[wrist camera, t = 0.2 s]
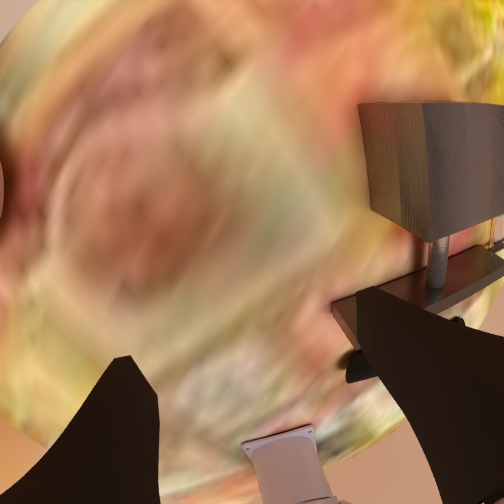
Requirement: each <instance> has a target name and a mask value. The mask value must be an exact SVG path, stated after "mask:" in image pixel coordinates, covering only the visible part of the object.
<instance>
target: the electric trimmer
mask: <svg viewBox="0 0 504 504" xmlns="http://www.w3.org/2000/svg"><path fill="white" fill-rule="evenodd" d="M454 322H456V323H459V324H461V325H464V326H465V322H464V320H463V318H458V317H455V319H454ZM373 377H377V374H376V373H375V371H374V370H373V368H372V367H371V365H370V364H369V362H368V360H367V358H366V357H365V355H364V353H363V351H362V352H359V353H356V354H354V355H352V356H351V357H350V359H349V363H348V367H347V370H346V382H347V383H353V382H358V381H362V380H365V379H369V378H373Z"/></svg>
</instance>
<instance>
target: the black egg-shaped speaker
mask: <svg viewBox="0 0 504 504" xmlns="http://www.w3.org/2000/svg"><path fill="white" fill-rule="evenodd" d="M3 201H4V177H3V170H2V165H1V161H0V218H1V213H2V208H3Z"/></svg>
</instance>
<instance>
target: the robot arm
mask: <svg viewBox="0 0 504 504" xmlns="http://www.w3.org/2000/svg"><path fill="white" fill-rule="evenodd" d="M356 311H357V341H358V343H359V345H360V347H361V349H362V351H363V353H364V355H365V357H366V358H367V360H368V362H369V364H370V365H371V367H372V368H373V370H374V371H375V373H376V374H377V376H378V377H379V378H380V380H381V381H382V383H383V384H384V386H385V387H386V388H387V390H388V391H389V393H390V394H391V396H392V397H393V398H394V400H395V401H396V403H397V404H398V406H399V407H400V408H401V410H402V411H403V413H404V415H405V416H406V418H407V420H408V421H409V423H410V425H411V427H412V429H413V431H414V433H415V435H416V437H417V439H418V441H419V443H420V445H421V447H422V449H423V451H424V454H425V456H426V458H427V461H428V463H429V465H430V468H431V471H432V473H433V476H434V478H435V481H436V484H437V487H438V490H439V493H440V496H441V499H442V502H443V504H482V503H483V502H484V504H504V337H503V336H498V335H494V334H490V333H487V332H483V331H480V330H477V329H473V328H470V327H467V326H464V325H461V324H459V323H456V322H454V321H451V320H448V319H446V318H443V317H441V316H438V315H436V314H434V313H431V312H429V311H427V310H424V309H422V308H420V307H418V306H416V305H414V304H411V303H409V302H407V301H405V300H403V299H401V298H399V297H396V296H394V295H392V294H390V293H388V292H386V291H383V290H381V289H379V288H376V287H374V286H371V287H369V288H366V289H363V290H360V291H358V292H356ZM159 428H160V421H159V408H158V397H157V394H156V393H155V391H154V390H153V389H152V387H151V386H150V384H149V383H148V381H147V380H146V378H145V377H144V375H143V374H142V372H141V371H140V369H139V368H138V366H137V365H136V363H135V362H134V360H133V358H132V357H131V355H129V356H124V357H119V358H114V359H113V361H112V362H111V363H110V365H109V366H108V367H107V369H106V370H105V372H104V373H103V374H102V376H101V377H100V379H99V380H98V382H97V383H96V385H95V386H94V388H93V389H92V391H91V392H90V394H89V395H88V397H87V398H86V400H85V401H84V403H83V404H82V406H81V407H80V409H79V410H78V412H77V413H76V414H75V416H74V417H73V419H72V420H71V421H70V423H69V424H68V426H67V427H66V429H65V430H64V431H63V433H62V434H61V435H60V437H59V438H58V439H57V440H56V442H55V443H54V444H53V445H52V446H51V448H50V449H49V450H48V451H47V453H46V454H45V455H44V456H43V457H42V458H41V459H40V460H39V461H38V462H37V463H36V464H35V465H34V466H33V467H32V468H31V469H30V470H29V471H28V472H27V473H26V474H25V475H24V476H23V477H22V478H21V479H20V480H19V481H17V482H16V483H15V484H14V485H13V486H12V487H10V488H9V489H8V490H6V491H5V492H4V493H2V494H1V495H0V504H160V496H159V485H158V460H159ZM242 448H243V450H244V452H245V453H246V455H247V456H248V458H249V459H250V461H251V463H252V464H253V466H254V467H255V471H256V476H257V480H258V484H259V489H260V493H261V497H262V501H263V504H351V503H350V502H347V501H345V500H341V501H338V499H337V497H336V496H334V497H333V494H332V492H331V489H330V487H329V484H328V481H327V479H326V476H325V474H324V471H323V468H322V466H321V463H320V461H319V458H318V455H317V447H316V440H315V432H314V427H313V425H308V426H305V427H302V428H298V429H295V430H292V431H288V432H285V433H282V434H278V435H274V436H271V437H267V438H263V439H259V440H255V441H251V442H247V443H243V444H242Z"/></svg>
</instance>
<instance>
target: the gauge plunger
mask: <svg viewBox="0 0 504 504" xmlns="http://www.w3.org/2000/svg"><path fill="white" fill-rule="evenodd" d="M449 238H450V235H449V236H446V237H444V238H441V239H438V240H436V241H433V242H430V243H429V247H428V262H427V268H426V269H424V270H421V271H419V272H416V273H414V274H412V275H409V276H407V277H404V278H401V279H399V280H396V281H394V282H391V283H389V284H386V285H383V286H381V287H378V288H379V289H381V290H383V291H386V292H388V293H390V294H392V295H394V296H396V297H399V298H401V299H403V300H405V301H407V302H409V303H411V304H414V305H416V306H418V307H420V308H422V309H424V310H427V311H429V312H431V313H434V314H438V313H440V312H442V311H444V310H446V309H448V308H450V307H452V306H453V305H455V304H457V303H459V302H461V301H463V300H464V299H466V298H468V297H470V296H471V295H473V294H475V293H477V292H478V291H480V290H482V289H483V288H485V287H487V286H488V285H490V284H491V283H493V282H495V281H496V280H498V279H499V278H501V277H503V276H504V259H502V258H501V257H499V256H497V255H496V254H494V253H496V252H498V251H500V250H502V249H504V243H503V242H500V243H498V244H496V245H494V246H492V247H490V248H489V249H486V248H484V247H482V246H481V245H478V246H476V247H474V248H472V249H470V250H468V251H465V252H463V253H461V254H459V255H457V256H454V257H452V258H450V259H448V250H449ZM332 307H333V317H334V318H335V320H336V321H337V323H338V324H339V326H340V327H341V329H342V330H343V332H344V333H345V335H346V336H347V338H348V339H349V341H350V342H351V344H352V345H353V347H354V348H355V350H359V349H361V347H360V345H359V343H358V341H357V311H356V296H353V297H350V298H348V299H345V300H342V301H339V302H336V303H333V304H332Z"/></svg>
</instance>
